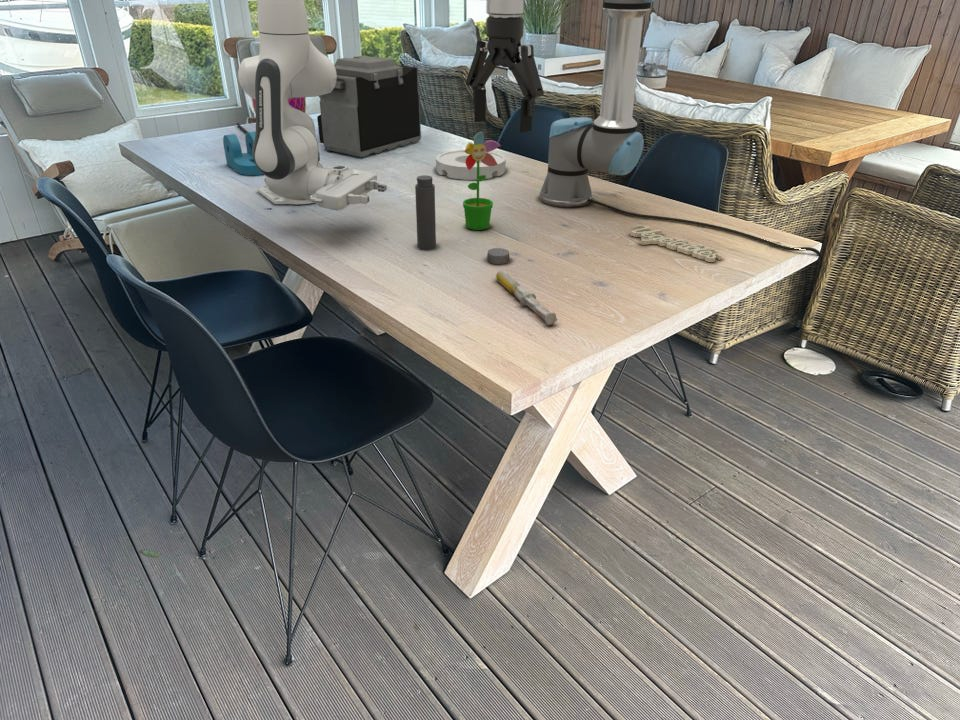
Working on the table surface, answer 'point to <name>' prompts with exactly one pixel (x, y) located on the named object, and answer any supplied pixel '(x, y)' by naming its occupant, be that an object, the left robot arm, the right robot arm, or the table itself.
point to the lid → (498, 256)
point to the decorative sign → (674, 243)
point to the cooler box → (370, 107)
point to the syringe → (525, 297)
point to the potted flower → (478, 207)
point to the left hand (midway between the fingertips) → (377, 193)
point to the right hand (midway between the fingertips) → (502, 126)
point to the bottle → (425, 213)
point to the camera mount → (240, 154)
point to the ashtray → (457, 168)
